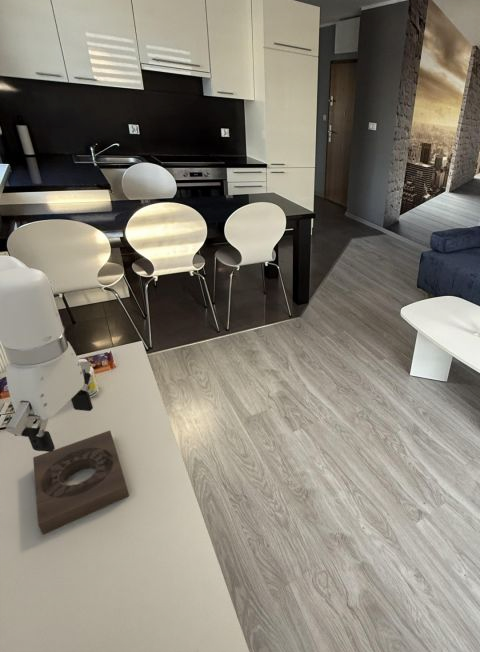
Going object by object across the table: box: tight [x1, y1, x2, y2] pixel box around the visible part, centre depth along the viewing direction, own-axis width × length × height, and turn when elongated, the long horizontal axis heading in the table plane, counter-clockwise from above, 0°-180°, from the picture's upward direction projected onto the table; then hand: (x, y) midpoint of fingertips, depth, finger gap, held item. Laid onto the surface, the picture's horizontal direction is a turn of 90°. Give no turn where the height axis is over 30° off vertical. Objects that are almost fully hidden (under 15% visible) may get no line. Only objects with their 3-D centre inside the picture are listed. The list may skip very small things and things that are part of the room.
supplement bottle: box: [78, 358, 100, 399], centre depth 103 cm, size 5×5×10 cm
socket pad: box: [32, 430, 130, 535], centre depth 81 cm, size 18×14×3 cm
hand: (65, 428), depth 69 cm, fingers open, 9 cm apart
